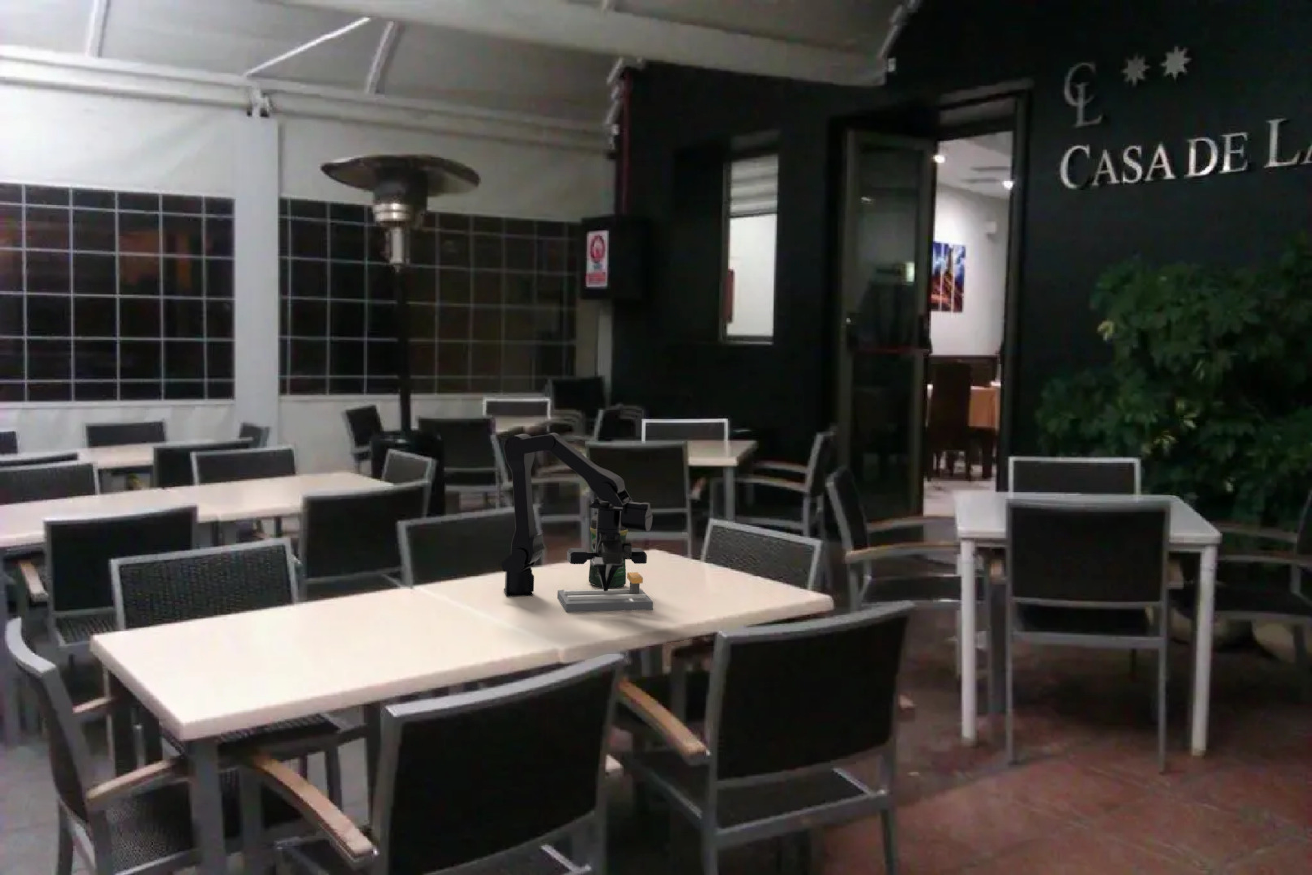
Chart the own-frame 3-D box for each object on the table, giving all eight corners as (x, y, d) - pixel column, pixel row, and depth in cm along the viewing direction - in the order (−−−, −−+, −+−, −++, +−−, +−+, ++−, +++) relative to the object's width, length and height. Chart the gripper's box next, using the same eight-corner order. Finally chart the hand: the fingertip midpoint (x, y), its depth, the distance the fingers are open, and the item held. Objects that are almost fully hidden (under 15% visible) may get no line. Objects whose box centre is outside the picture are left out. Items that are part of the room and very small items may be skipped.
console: (566, 612, 263) (566, 600, 263) (557, 598, 276) (557, 587, 276) (652, 609, 269) (653, 598, 268) (640, 596, 281) (640, 585, 281)
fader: (631, 597, 271) (632, 577, 270) (626, 592, 276) (627, 572, 276) (642, 597, 271) (642, 577, 271) (636, 591, 277) (637, 572, 276)
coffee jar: (631, 586, 291) (633, 515, 289) (608, 590, 285) (611, 518, 283) (605, 579, 298) (607, 510, 296) (583, 583, 292) (585, 513, 290)
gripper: (576, 534, 260) (573, 599, 262) (654, 534, 265) (650, 598, 267) (567, 524, 271) (565, 588, 273) (642, 524, 276) (639, 587, 277)
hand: (605, 590), depth 272 cm, fingers closed
